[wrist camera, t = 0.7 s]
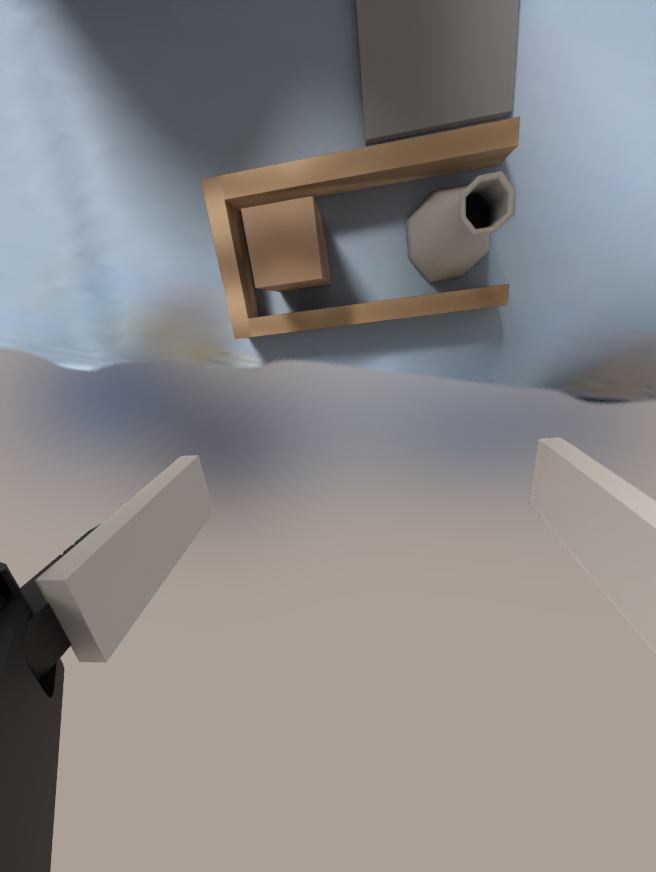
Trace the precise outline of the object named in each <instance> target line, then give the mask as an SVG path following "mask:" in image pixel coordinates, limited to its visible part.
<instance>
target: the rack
mask: <svg viewBox="0 0 656 872" xmlns="http://www.w3.org/2000/svg"><path fill="white" fill-rule="evenodd" d="M519 123H520V117H516V118H511V119H506V120H500V121H495V122H490V123H485V124H480V125H475V126H470V127H465V128H460V129H454V130H449V131H444V132H439V133H434V134H429V135H424V136H419V137H413V138H408V139H403V140H398V141H393V142H388V143H383V144H378V145H373V146H367V147H362V148H357V149H352V150H347V151H342V152H337V153H332V154H327V155H321V156H316V157H311V158H306V159H301V160H296V161H291V162H286V163H281V164H275V165H270V166H265V167H260V168H255V169H250V170H245V171H240V172H234V173H229V174H224V175H219V176H214V177H209V178H204V179H200V180H201V185H202V189H203V194H204V198H205V203H206V208H207V212H208V217H209V221H210V226H211V231H212V235H213V240H214V245H215V249H216V254H217V258H218V263H219V268H220V272H221V277H222V281H223V286H224V291H225V295H226V300H227V305H228V309H229V314H230V318H231V323H232V328H233V332H234V337H235V339H240V338H248V337H256V336H264V335H272V334H280V333H288V332H296V331H304V330H312V329H320V328H328V327H336V326H344V325H352V324H360V323H368V322H376V321H384V320H392V319H400V318H408V317H416V316H424V315H432V314H440V313H448V312H456V311H464V310H472V309H480V308H488V307H496V306H504V305H507V303H508V288H509V284H504V285H496V286H489V287H481V288H474V289H466V290H459V291H451V292H444V293H436V294H429V295H421V296H414V297H406V298H399V299H391V300H384V301H376V302H369V303H361V304H354V305H346V306H339V307H331V308H323V309H316V310H308V311H301V312H293V313H286V314H278V315H271V316H263V317H259V313H258V308H257V303H256V297H255V292H254V287H253V281H252V276H251V270H250V265H249V260H248V254H247V249H246V244H245V238H244V233H243V228H242V222H241V217H240V212H239V211H241V209H243V208H248V207H254V206H259V205H265V204H270V203H276V202H282V201H287V200H293V199H298V198H304V197H309V196H313V198H316V197H321V196H327V195H332V194H338V193H344V192H349V191H355V190H360V189H366V188H372V187H377V186H383V185H388V184H394V183H399V182H405V181H411V180H416V179H422V178H427V177H433V176H439V175H444V174H450V173H455V172H461V171H467V170H472V169H478V168H483V167H489V166H495V165H499V164H500V163H501V162H502V161H503V160H504V159H505V158H506V157H507V156H508V155H509V154H510V153H511V152H512V151H513V150H514V149H515V148H516V147H517V146H518V138H519Z"/></svg>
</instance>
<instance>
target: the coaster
mask: <svg viewBox="0 0 656 872" xmlns="http://www.w3.org/2000/svg"><path fill="white" fill-rule="evenodd" d="M356 9H357V24H358V39H359V54H360V69H361V84H362V100H363V115H364V130H365V144H369V143H374V142H379V141H384V140H389V139H394V138H399V137H405V136H410V135H415V134H420V133H425V132H430V131H435V130H440V129H445V128H450V127H455V126H461V125H466V124H471V123H476V122H481V121H486V120H491V119H496V118H501V117H506V116H509V115H510V113H511V112H512V111H513V97H514V80H515V64H516V47H517V30H518V14H519V0H356Z"/></svg>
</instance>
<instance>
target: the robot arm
mask: <svg viewBox="0 0 656 872" xmlns="http://www.w3.org/2000/svg"><path fill="white" fill-rule="evenodd" d="M529 504H530V505H531V506H532V507H533V509H534V510H535V511H536V512H537V513H538V515H539V516H540V517H541V518H542V519H543V521H544V522H545V523H546V524H547V525H548V527H549V528H550V529H551V530H552V531H553V533H554V534H555V535H556V536H557V537H558V539H559V540H560V541H561V542H562V543H563V545H565V547H566V548H567V549H568V551H569V552H570V553H571V554H572V555H573V556H574V558H575V559H576V560H577V561H578V562H579V564H580V565H581V566H582V567H583V568H584V570H585V571H586V572H587V573H588V574H589V576H590V577H591V578H592V579H593V580H594V581H595V583H596V584H597V585H598V586H599V588H601V590H602V591H603V592H604V594H605V595H606V596H607V597H608V598H609V599H610V601H611V602H612V603H613V604H614V605H615V607H616V608H617V609H618V610H619V611H620V613H621V614H622V615H623V616H624V617H625V619H626V620H627V621H628V622H629V623H630V625H631V626H632V627H633V628H634V629H635V631H636V632H637V633H638V634H639V635H640V637H641V638H642V639H643V640H644V641H645V642H646V643H647V645H648V646H649V647H650V649H651V650H652V651H653V652H654V653H655V654H656V501H655V500H653V499H652V498H650V497H649V496H647V495H646V494H644V493H643V492H641V491H640V490H638V489H637V488H635V487H634V486H632V485H631V484H629V483H628V482H626V481H625V480H623V479H622V478H620V477H619V476H618V475H616V474H615V473H613V472H612V471H610V470H609V469H607V468H606V467H604V466H603V465H601V464H600V463H598V462H597V461H595V460H594V459H592V458H591V457H589V456H588V455H586V454H585V453H583V452H582V451H580V450H579V449H578V448H576V447H575V446H573V445H572V444H570V443H569V442H567V441H566V440H564V439H563V438H561V437H559V438H539V439H538V444H537V451H536V458H535V465H534V471H533V478H532V485H531V492H530V498H529ZM212 513H213V509H212V505H211V502H210V498H209V494H208V490H207V486H206V483H205V479H204V475H203V471H202V467H201V464H200V460H199V456H198V455H197V456H196V455H195V456H181V457H179V458H178V459H177V460H176V461H175V462H174V463H173V464H171V465H170V466H169V467H168V468H167V469H165V470H164V471H163V472H162V473H161V474H160V475H159V476H157V477H156V478H155V479H154V480H152V481H151V482H150V483H149V484H148V485H147V486H145V487H144V488H143V489H142V490H141V491H139V492H138V493H137V494H136V495H135V496H134V497H132V498H131V499H130V500H129V501H128V502H126V503H125V504H124V505H123V506H122V507H121V508H119V509H118V510H117V511H116V512H115V513H114V514H112V515H111V516H110V517H109V518H108V519H107V520H106V521H104V522H103V523H102V524H100V525H98V526H96V527H95V528H93V529H91V530H90V531H88V532H87V533H86V534H84V535H83V536H82V537H81V538H80V539H79V540H77V541H76V542H75V544H74V545H71V546H70V547H69V548H68V549H67V550H66V551H64V552H63V555H59V556H58V557H57V558H56V559H55V560H53V561H52V562H51V563H50V564H49V565H47V566H46V567H45V568H44V569H43V570H41V571H40V572H39V573H38V574H37V575H35V576H34V577H33V578H32V579H31V580H29V581H28V582H27V583H26V584H25V585H24V586H22V587H21V588H19V586H18V584H17V583H16V581H15V579H14V577H13V576H12V574H11V572H10V570H9V569H8V567H7V565H6V564H4V563H1V562H0V872H50V867H51V866H50V865H51V852H52V838H53V823H54V810H55V809H54V808H55V795H56V781H57V767H58V752H59V739H60V724H61V710H62V696H63V695H62V694H63V681H64V666H63V663H62V661H61V659H60V657H61V656H62V655H63V654H64V653H65V652H66V650H67V649H68V648H69V647H70V646H71V647H72V649H73V651H74V653H75V654H76V656H77V658H78V660H79V661H80V662H107V661H108V659H109V658H110V656H111V655H112V654H113V652H114V651H115V649H116V648H117V647H118V645H119V643H120V642H121V641H122V639H123V638H124V637H125V635H126V634H127V632H128V631H129V630H130V628H131V627H132V625H133V624H134V622H135V621H136V620H137V618H138V617H139V615H140V614H141V613H142V611H143V610H144V608H145V607H146V606H147V604H148V603H149V601H150V600H151V599H152V597H153V596H154V594H155V593H156V592H157V590H158V589H159V587H160V586H161V584H162V583H163V581H164V580H165V579H166V577H167V576H168V575H169V573H170V572H171V570H172V569H173V568H174V566H175V565H176V563H177V562H178V561H179V559H180V558H181V556H182V555H183V553H184V552H185V551H186V549H187V548H188V546H189V545H190V544H191V542H192V541H193V539H194V538H195V537H196V535H197V534H198V532H199V531H200V529H201V528H202V527H203V525H204V524H205V522H206V521H207V520H208V518H209V517H210V515H211V514H212Z"/></svg>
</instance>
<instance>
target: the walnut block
mask: <svg viewBox="0 0 656 872" xmlns="http://www.w3.org/2000/svg"><path fill="white" fill-rule="evenodd" d="M241 212H242V218H243V223H244V228H245V234H246V239H247V245H248V250H249V255H250V261H251V266H252V272H253V277H254V282H255V288H258V289H265V290H271V291H278V292H283V291H290V290H297V289H304V288H311V287H318V286H325V285H332V284H331V274H330V265H329V256H328V247H327V238H326V229H325V222H324V220H323V218H322V216H321V213H320V211H319V209H318V207H317V205H316V202H315V200H314V198H313V196H309V197H304V198H298V199H293V200H287V201H282V202H276V203H270V204H265V205H259V206H254V207H248V208H243V209H241Z"/></svg>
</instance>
